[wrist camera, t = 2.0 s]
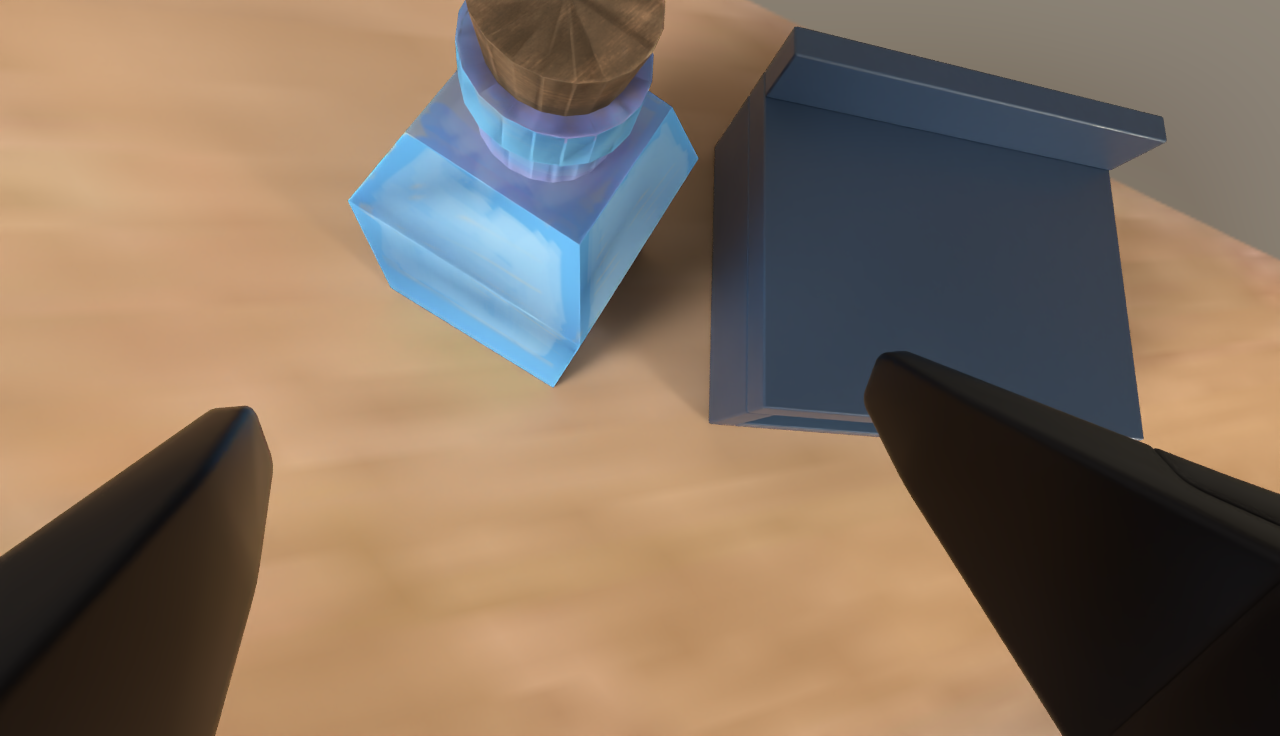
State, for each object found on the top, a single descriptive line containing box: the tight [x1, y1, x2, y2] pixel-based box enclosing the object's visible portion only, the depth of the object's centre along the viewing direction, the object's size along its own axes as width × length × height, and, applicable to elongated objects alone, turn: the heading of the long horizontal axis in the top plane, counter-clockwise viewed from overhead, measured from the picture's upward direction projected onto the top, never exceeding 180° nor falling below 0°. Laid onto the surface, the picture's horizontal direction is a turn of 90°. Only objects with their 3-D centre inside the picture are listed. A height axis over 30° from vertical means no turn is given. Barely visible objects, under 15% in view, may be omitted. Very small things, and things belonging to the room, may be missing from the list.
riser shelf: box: [709, 27, 1166, 441], centre depth 21 cm, size 11×14×6 cm
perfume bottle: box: [348, 0, 699, 387], centre depth 15 cm, size 6×6×12 cm
